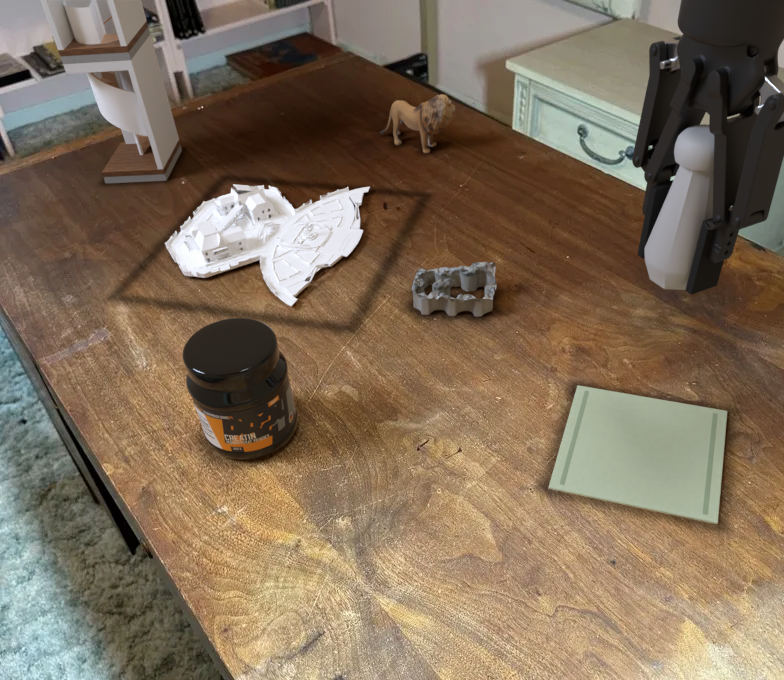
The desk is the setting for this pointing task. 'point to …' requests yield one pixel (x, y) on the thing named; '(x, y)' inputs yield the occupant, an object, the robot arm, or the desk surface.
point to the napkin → (643, 453)
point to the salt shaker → (683, 210)
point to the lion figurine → (421, 118)
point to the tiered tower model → (120, 81)
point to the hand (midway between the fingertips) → (675, 269)
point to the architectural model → (269, 236)
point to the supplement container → (240, 388)
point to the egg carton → (457, 276)
